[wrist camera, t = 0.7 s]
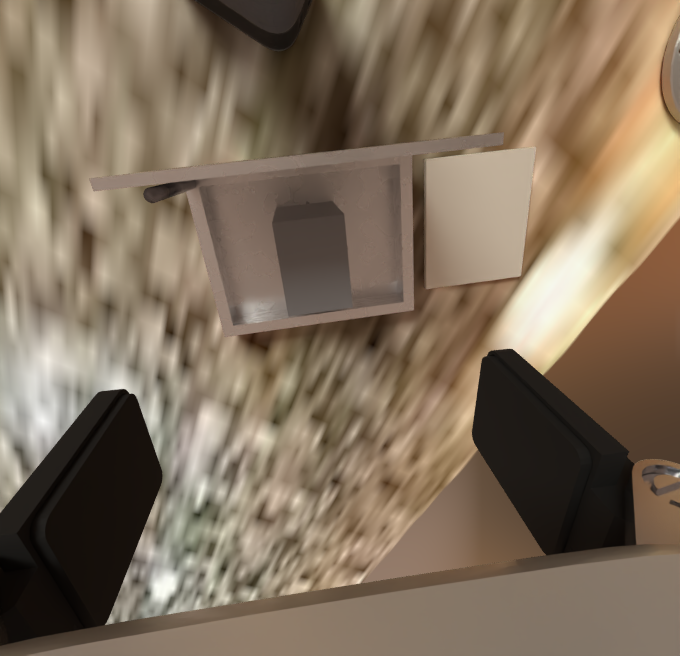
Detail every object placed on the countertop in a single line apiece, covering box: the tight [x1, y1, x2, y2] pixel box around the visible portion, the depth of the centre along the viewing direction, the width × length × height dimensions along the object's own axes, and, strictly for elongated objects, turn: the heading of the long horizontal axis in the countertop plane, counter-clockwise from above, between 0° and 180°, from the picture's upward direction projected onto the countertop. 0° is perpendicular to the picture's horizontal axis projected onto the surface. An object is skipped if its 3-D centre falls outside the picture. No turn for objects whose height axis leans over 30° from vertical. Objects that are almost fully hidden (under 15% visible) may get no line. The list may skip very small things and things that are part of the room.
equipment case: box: [89, 132, 504, 337], centre depth 27 cm, size 18×14×17 cm
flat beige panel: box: [424, 147, 536, 289], centre depth 35 cm, size 10×12×1 cm
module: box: [272, 201, 353, 316], centre depth 30 cm, size 5×7×8 cm
